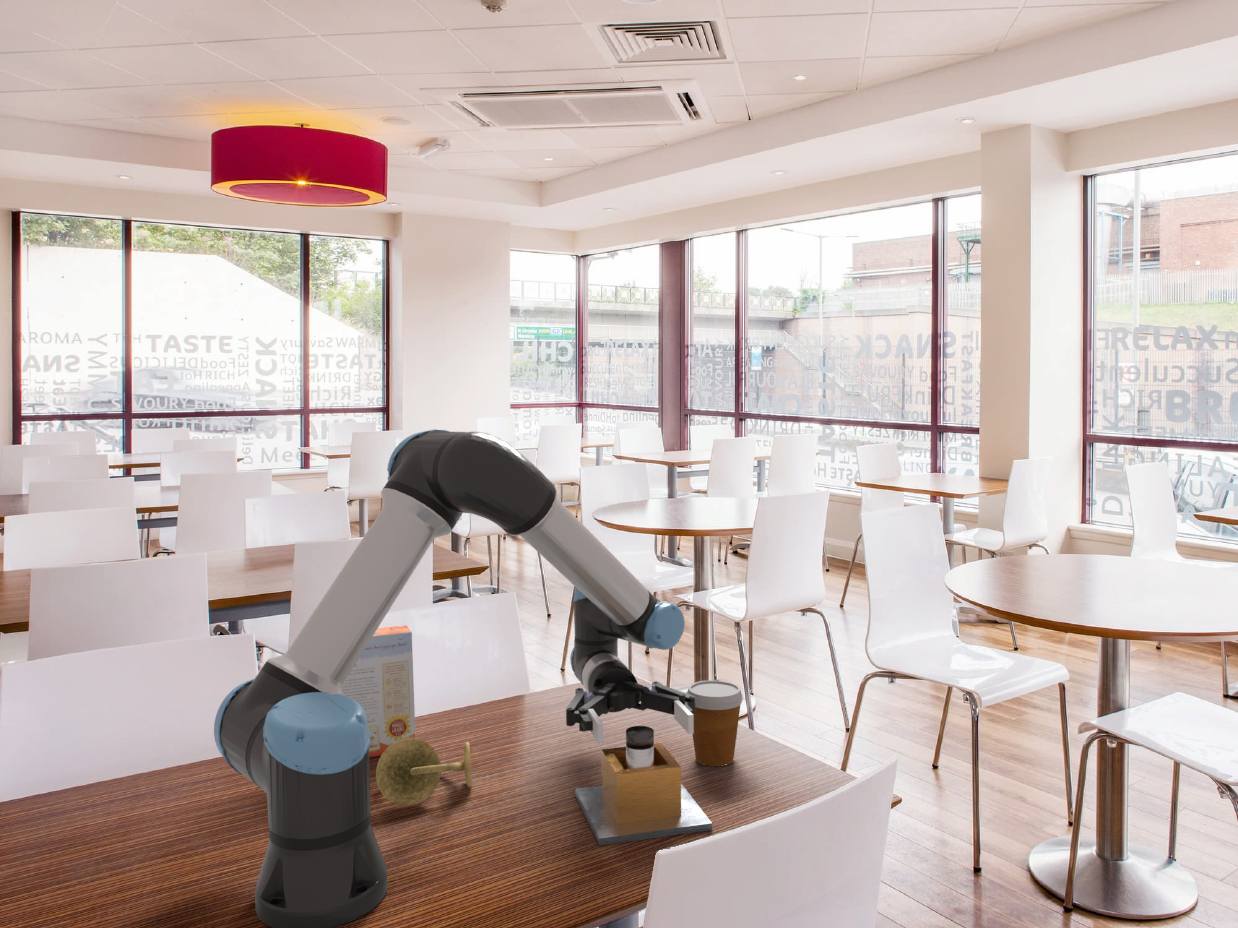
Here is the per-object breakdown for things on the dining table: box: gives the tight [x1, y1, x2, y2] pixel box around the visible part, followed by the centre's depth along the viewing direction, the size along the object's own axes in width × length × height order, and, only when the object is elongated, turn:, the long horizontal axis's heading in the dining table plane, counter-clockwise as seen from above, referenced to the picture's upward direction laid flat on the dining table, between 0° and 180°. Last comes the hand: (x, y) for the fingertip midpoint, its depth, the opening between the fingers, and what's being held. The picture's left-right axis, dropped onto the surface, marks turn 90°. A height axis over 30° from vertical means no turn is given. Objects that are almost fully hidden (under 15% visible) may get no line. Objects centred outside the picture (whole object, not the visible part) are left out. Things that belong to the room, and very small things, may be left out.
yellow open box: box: [574, 742, 713, 846], centre depth 129 cm, size 16×16×8 cm
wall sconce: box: [375, 738, 473, 807], centre depth 132 cm, size 14×10×25 cm
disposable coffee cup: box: [685, 679, 744, 767], centre depth 147 cm, size 10×10×12 cm
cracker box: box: [342, 624, 417, 759], centre depth 152 cm, size 14×6×21 cm, turn 111°
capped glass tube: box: [625, 725, 655, 769], centre depth 129 cm, size 4×4×12 cm
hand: (646, 729), depth 125 cm, fingers open, 12 cm apart
